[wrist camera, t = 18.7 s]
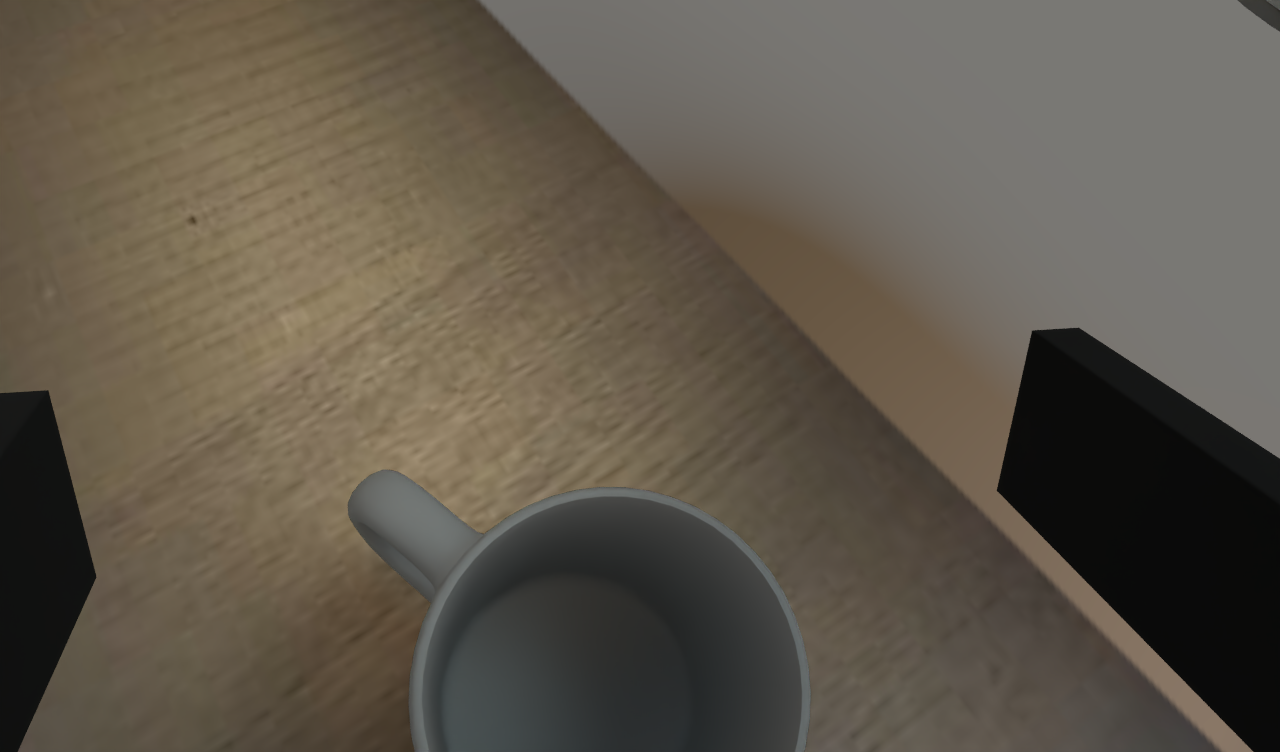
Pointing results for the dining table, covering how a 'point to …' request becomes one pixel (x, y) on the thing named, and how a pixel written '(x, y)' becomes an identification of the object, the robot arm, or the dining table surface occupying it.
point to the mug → (590, 626)
